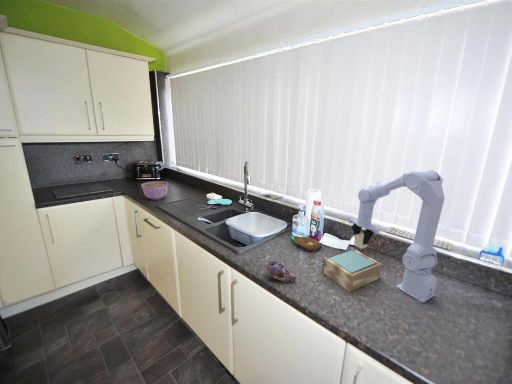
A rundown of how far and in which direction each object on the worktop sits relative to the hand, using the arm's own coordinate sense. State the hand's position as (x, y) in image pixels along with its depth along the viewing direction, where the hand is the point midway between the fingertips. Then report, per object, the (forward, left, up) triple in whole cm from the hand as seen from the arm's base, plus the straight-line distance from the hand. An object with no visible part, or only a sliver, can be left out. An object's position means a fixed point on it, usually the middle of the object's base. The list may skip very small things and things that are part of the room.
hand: (360, 242), depth 111 cm
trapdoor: (-9, +18, 0) cm, 20 cm away
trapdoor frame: (-10, +18, -6) cm, 21 cm away
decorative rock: (+18, +17, -7) cm, 26 cm away
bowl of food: (+132, +72, -6) cm, 150 cm away
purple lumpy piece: (+2, +44, -6) cm, 45 cm away
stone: (0, 0, -2) cm, 2 cm away
